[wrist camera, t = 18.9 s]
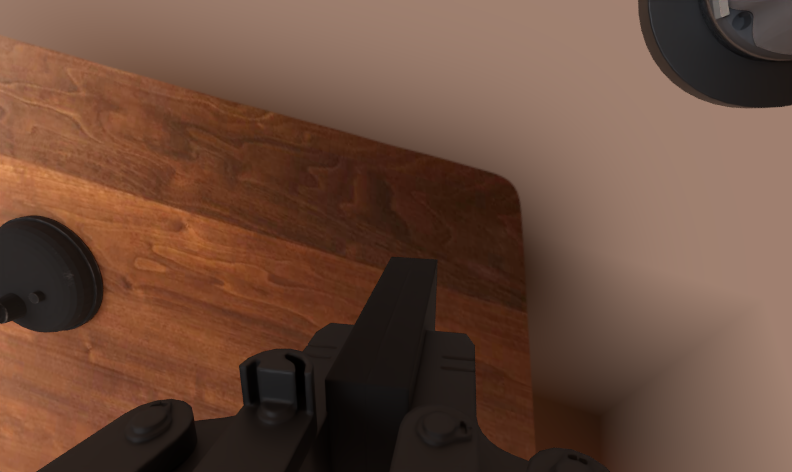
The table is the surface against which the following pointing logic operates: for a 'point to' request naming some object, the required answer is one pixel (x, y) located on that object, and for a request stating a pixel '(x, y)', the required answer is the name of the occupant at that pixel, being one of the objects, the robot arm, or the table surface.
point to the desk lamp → (46, 276)
